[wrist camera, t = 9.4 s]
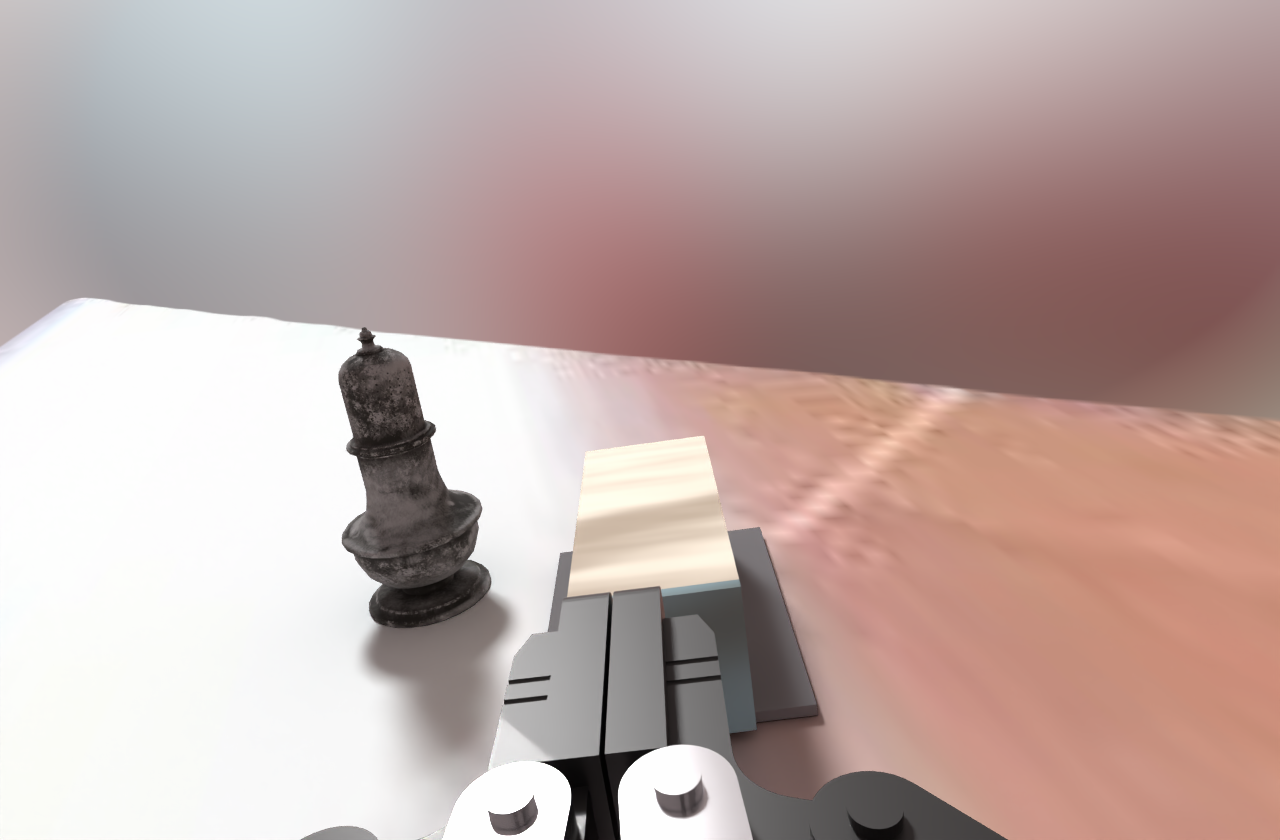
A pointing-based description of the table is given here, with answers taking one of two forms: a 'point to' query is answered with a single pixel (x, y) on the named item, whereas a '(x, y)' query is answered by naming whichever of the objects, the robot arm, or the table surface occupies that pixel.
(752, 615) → the gray rectangular block
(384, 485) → the salt shaker
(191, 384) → the table surface
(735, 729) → the birch block
